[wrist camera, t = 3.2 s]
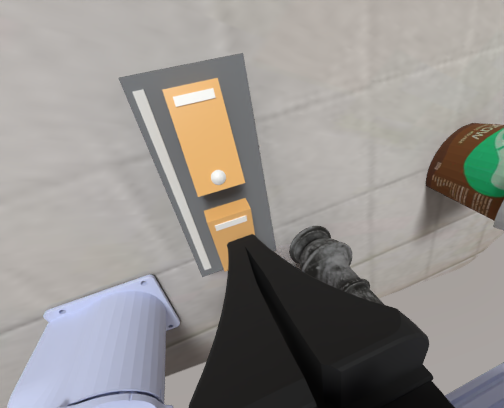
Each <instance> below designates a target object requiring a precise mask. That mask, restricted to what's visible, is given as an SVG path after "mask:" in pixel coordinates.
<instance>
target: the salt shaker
mask: <svg viewBox="0 0 504 408" xmlns="http://www.w3.org/2000/svg"><path fill="white" fill-rule="evenodd" d="M289 252H290V256H291V258H292V259H293V261H295V262H296V263H299V264H300V268H301V271H303V272H305V273H307V274H308V275H310V276H312V277H314V278H316V279H318V280H320V281H322V282H324V283H326V284H328V285H330V286H333V287H335V288H338V289H340V290H342V291H345V292H347V293H349V294H352V295H355V296H357V297H360V298H363V299H366V300H369V301H372V302H376V303H379V304H382V305H384V304H383V303H382V302H381V301H380V300H379V299H378V298H377V296H376V295H375V294H374V293H373V292H372V291H371V290H370V284H369V282H368V281H367V280H365V279H360V278H359V277H358V276H357V274H356V273H355V272H354V271H353V270H352V269H351V268H350V264H351V261H352V251H351V248H350V247H349V246H348V245H347V244H345V243H343V242H339V241H337V240H334V239H331V236H330V233H329V231H328V230H327V229H326V228H324V227H321V226H312V227H309V228H306V229H304V230H303V231H301V232H300V233H299V234H298V235H297V236H296V237H295V238H294V240H293V241H292V243H291V245H290V251H289Z"/></svg>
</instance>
